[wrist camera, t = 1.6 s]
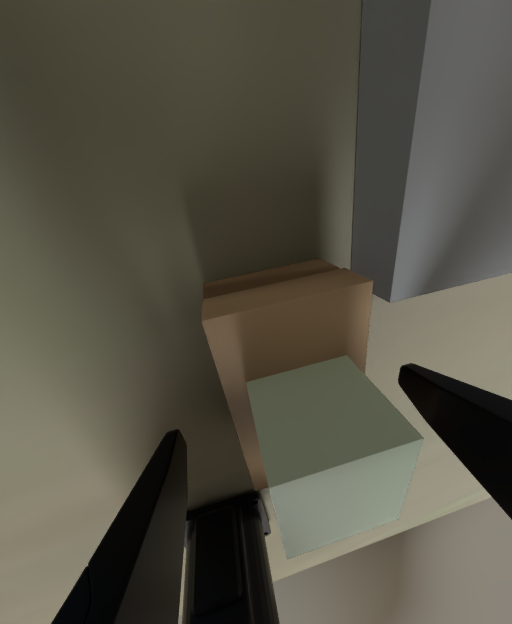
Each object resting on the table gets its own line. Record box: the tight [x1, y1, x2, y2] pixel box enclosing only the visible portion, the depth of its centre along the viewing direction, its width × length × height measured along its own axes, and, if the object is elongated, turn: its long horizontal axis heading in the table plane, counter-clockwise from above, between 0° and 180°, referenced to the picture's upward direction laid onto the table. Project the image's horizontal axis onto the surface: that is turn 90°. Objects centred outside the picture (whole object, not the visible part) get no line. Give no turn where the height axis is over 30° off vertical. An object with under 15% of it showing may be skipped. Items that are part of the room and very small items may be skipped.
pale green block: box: [246, 355, 424, 560], centre depth 7 cm, size 4×4×3 cm
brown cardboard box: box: [201, 259, 373, 491], centre depth 10 cm, size 9×5×4 cm, turn 9°
